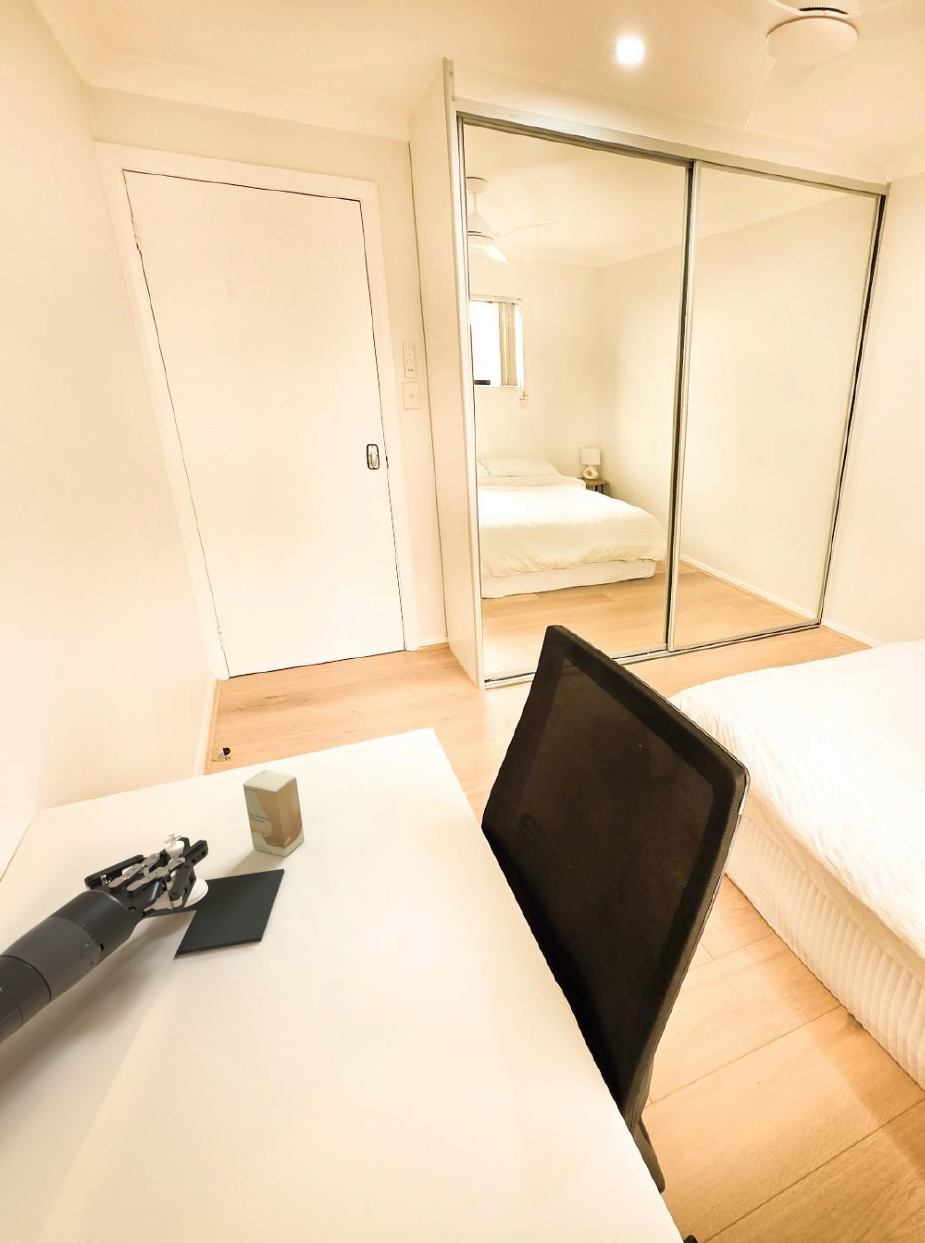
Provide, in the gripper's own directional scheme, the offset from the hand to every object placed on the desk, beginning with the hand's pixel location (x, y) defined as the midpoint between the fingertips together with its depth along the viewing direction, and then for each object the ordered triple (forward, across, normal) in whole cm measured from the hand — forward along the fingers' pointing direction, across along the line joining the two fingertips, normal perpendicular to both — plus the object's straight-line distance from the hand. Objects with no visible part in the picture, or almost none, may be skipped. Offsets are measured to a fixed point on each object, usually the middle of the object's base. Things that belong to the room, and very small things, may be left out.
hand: (196, 844), depth 83 cm
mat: (-3, 0, -10) cm, 10 cm away
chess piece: (-3, 0, -6) cm, 7 cm away
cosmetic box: (+13, +2, -10) cm, 16 cm away
